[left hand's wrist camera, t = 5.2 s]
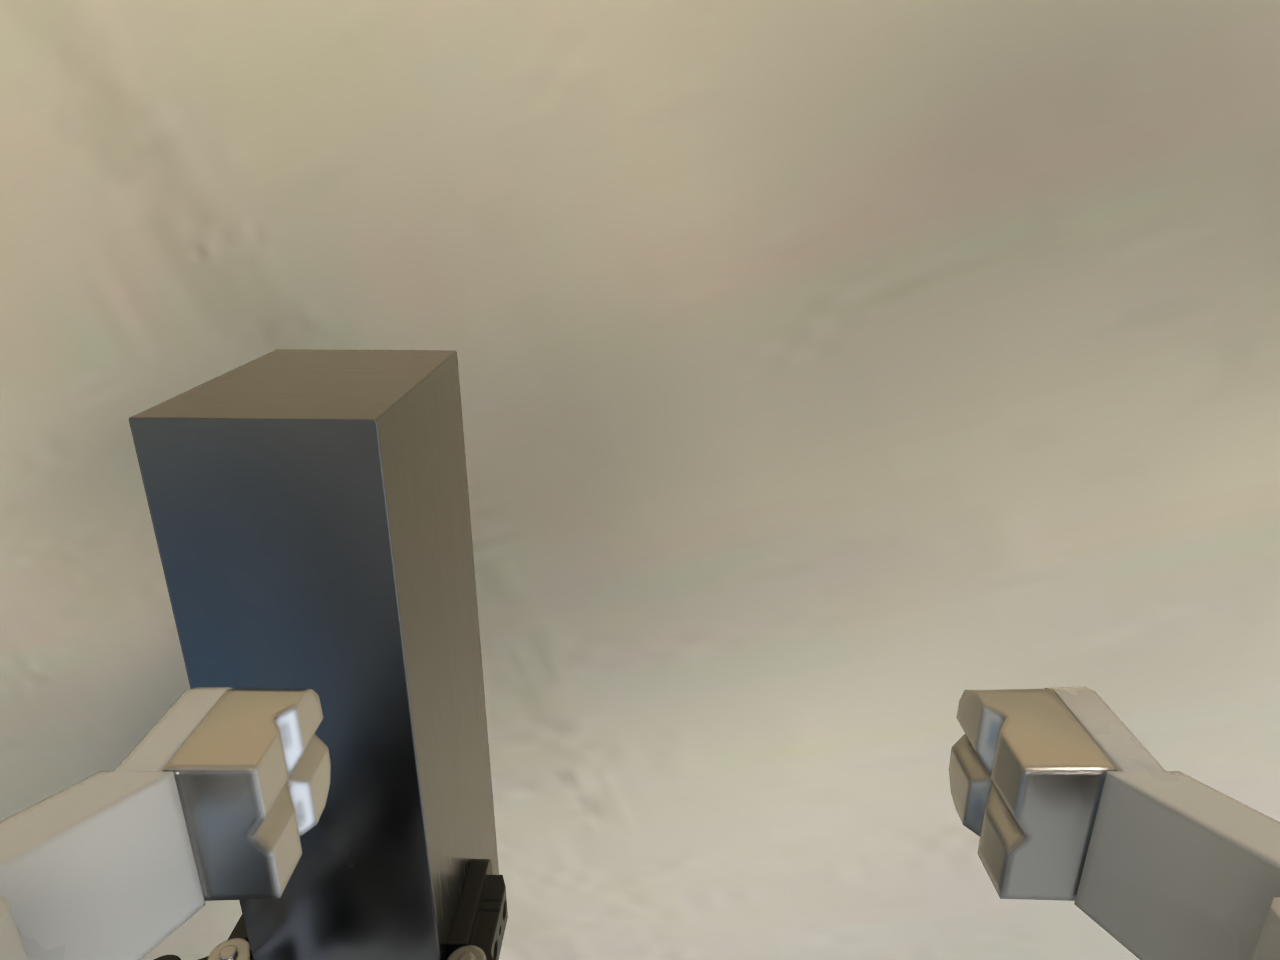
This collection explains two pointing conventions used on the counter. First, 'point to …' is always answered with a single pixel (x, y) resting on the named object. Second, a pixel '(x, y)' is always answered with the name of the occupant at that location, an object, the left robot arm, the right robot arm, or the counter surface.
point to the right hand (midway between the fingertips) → (395, 875)
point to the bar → (340, 622)
